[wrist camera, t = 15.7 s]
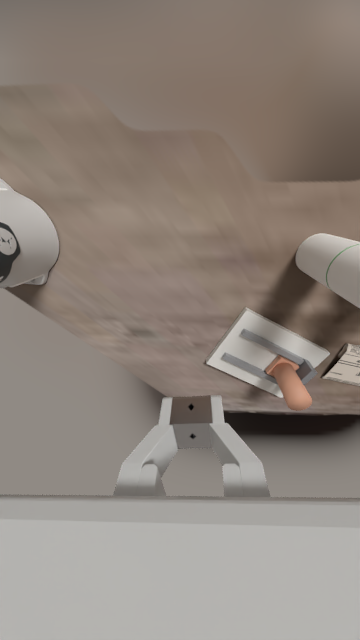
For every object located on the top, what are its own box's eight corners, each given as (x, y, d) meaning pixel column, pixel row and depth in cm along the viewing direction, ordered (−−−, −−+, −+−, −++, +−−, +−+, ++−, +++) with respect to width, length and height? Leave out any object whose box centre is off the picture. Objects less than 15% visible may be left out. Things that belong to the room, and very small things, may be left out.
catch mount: (206, 359, 53) (207, 375, 48) (245, 306, 45) (251, 319, 41) (279, 393, 56) (287, 411, 52) (326, 349, 49) (341, 365, 44)
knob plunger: (265, 369, 51) (280, 405, 42) (279, 354, 48) (298, 389, 40) (282, 377, 52) (300, 414, 43) (297, 363, 49) (319, 399, 40)
